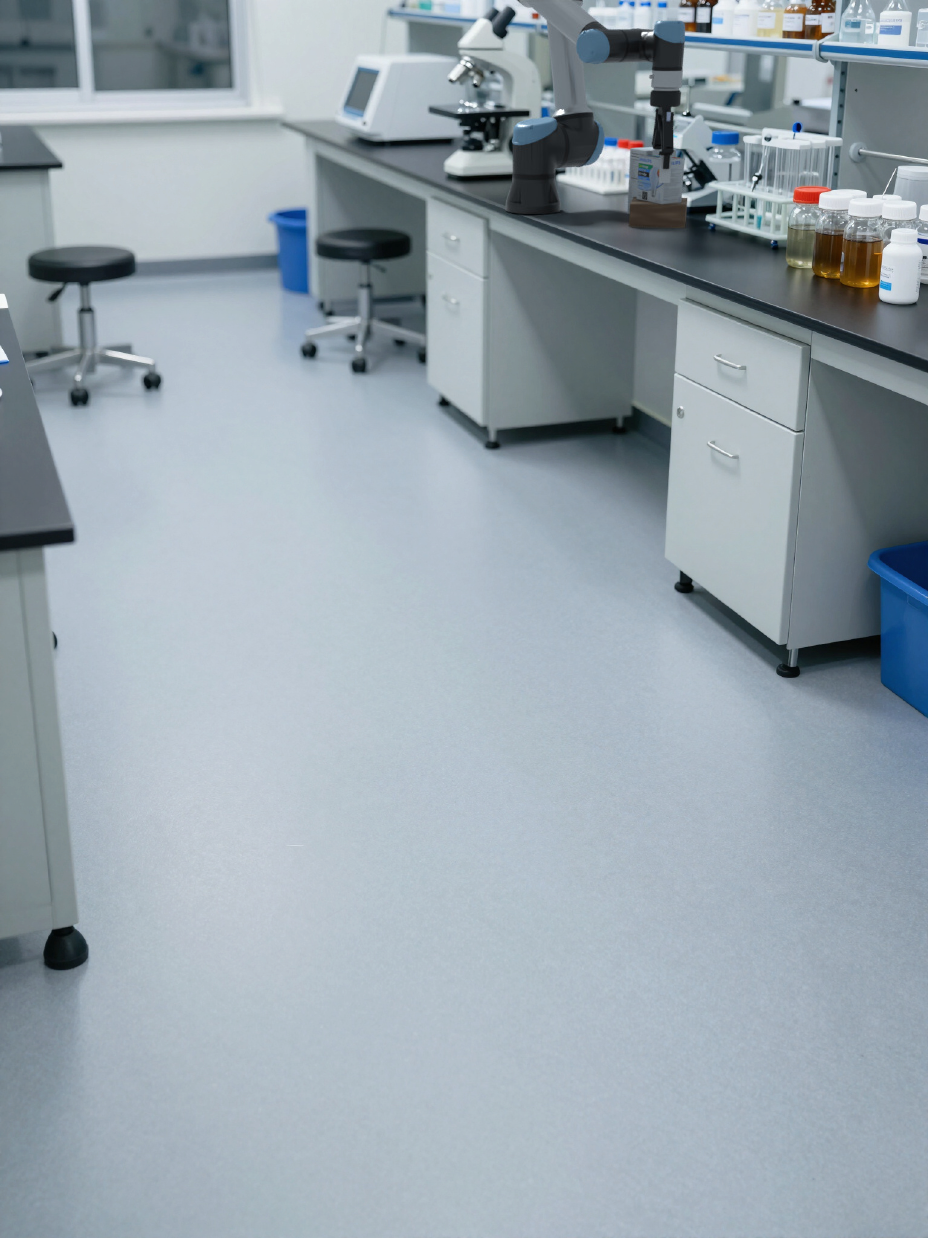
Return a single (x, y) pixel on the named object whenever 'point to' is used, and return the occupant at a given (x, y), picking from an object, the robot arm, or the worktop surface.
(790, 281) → the worktop surface
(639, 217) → the walnut plinth
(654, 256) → the worktop surface
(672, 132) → the robot arm
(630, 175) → the supplement box
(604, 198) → the worktop surface
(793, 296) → the worktop surface
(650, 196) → the light bulb box
